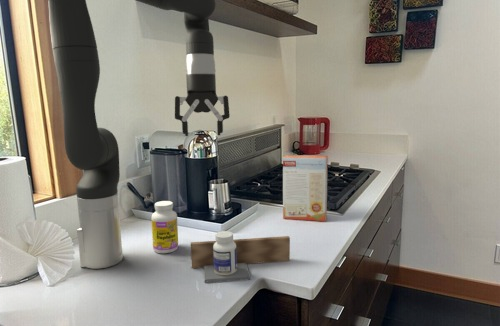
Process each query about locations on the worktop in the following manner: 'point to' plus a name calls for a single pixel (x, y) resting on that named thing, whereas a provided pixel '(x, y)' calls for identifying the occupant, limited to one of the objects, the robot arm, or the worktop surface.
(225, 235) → the pill bottle
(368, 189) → the worktop surface
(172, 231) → the supplement bottle
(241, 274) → the grey pad
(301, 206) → the cracker box
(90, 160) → the robot arm
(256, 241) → the walnut screen
